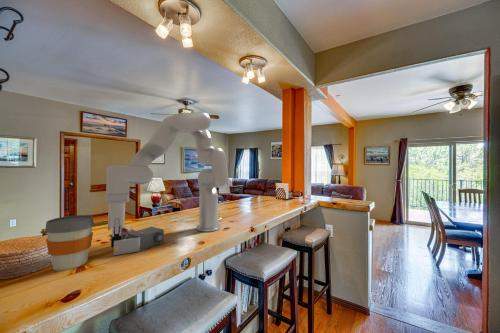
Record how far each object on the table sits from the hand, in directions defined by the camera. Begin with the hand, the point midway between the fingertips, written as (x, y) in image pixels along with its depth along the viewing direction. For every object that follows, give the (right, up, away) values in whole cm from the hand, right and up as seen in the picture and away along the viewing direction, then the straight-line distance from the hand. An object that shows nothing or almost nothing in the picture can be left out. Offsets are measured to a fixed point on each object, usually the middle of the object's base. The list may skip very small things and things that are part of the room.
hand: (116, 246), depth 82 cm
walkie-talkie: (-6, -3, +17) cm, 18 cm away
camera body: (+7, -2, +9) cm, 12 cm away
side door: (+4, -2, 0) cm, 5 cm away
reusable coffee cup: (-10, -3, -9) cm, 14 cm away
